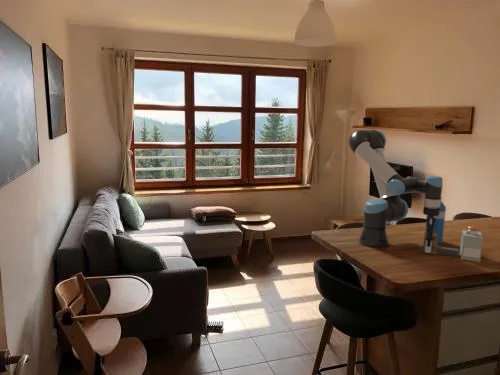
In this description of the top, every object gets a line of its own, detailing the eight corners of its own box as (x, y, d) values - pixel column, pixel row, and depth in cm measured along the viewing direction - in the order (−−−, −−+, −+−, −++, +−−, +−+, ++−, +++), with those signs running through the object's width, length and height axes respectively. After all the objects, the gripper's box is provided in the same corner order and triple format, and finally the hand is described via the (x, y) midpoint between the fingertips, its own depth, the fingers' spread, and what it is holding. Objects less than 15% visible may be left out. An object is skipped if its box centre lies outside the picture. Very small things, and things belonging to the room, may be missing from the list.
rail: (419, 252, 204) (419, 246, 203) (419, 249, 208) (419, 243, 208) (458, 257, 197) (459, 251, 196) (457, 254, 201) (458, 248, 201)
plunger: (467, 239, 194) (468, 227, 193) (466, 237, 198) (467, 225, 197) (477, 240, 193) (478, 228, 191) (476, 238, 196) (477, 226, 195)
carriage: (423, 252, 202) (424, 234, 200) (423, 248, 208) (424, 230, 207) (436, 254, 200) (437, 235, 198) (435, 250, 206) (437, 232, 204)
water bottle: (444, 244, 217) (449, 199, 212) (426, 243, 219) (430, 198, 214) (440, 239, 226) (444, 195, 221) (422, 238, 228) (426, 195, 223)
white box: (461, 259, 194) (464, 235, 192) (459, 253, 203) (462, 230, 201) (480, 262, 191) (483, 237, 188) (477, 255, 200) (480, 232, 198)
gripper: (440, 212, 188) (436, 257, 192) (439, 203, 209) (435, 243, 213) (423, 210, 191) (419, 254, 195) (423, 201, 212) (420, 241, 216)
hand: (427, 249), depth 204 cm, fingers open, 10 cm apart
